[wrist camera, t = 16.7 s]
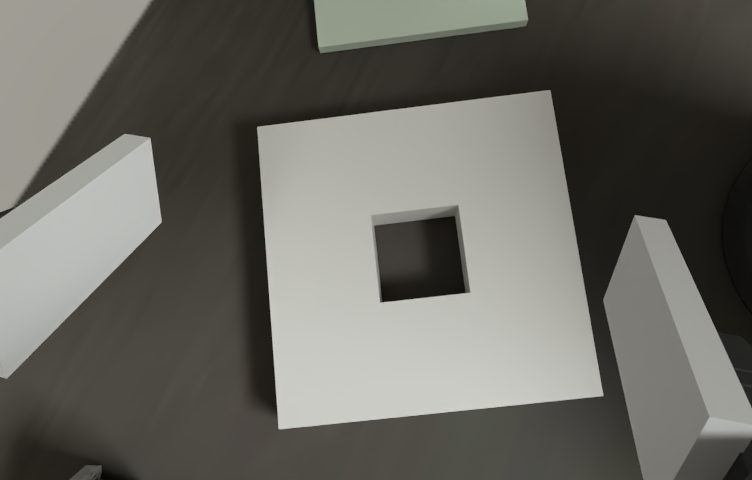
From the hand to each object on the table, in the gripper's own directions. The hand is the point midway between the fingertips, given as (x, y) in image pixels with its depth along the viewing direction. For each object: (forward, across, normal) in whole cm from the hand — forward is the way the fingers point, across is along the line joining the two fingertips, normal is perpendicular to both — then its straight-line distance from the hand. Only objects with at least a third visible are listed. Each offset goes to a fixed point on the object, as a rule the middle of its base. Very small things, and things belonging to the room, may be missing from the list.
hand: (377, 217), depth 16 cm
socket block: (+17, +1, -13) cm, 21 cm away
